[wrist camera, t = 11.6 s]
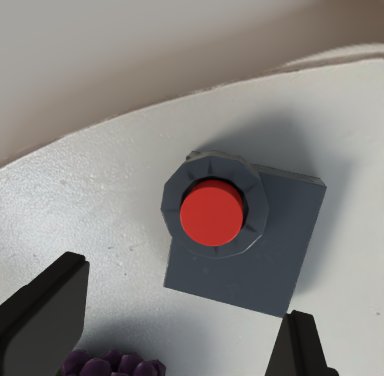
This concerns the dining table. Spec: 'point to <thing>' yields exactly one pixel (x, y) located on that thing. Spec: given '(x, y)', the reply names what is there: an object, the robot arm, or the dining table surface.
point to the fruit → (109, 365)
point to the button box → (243, 233)
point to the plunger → (212, 213)
